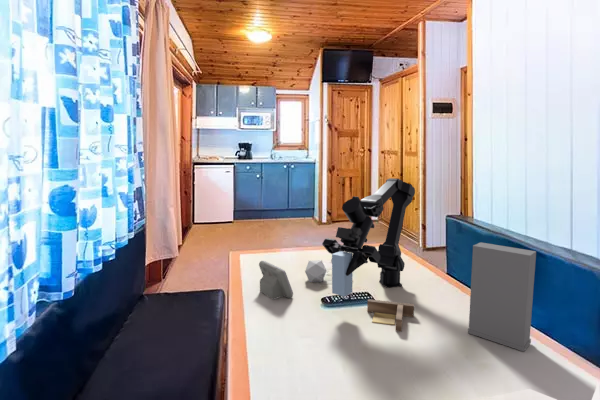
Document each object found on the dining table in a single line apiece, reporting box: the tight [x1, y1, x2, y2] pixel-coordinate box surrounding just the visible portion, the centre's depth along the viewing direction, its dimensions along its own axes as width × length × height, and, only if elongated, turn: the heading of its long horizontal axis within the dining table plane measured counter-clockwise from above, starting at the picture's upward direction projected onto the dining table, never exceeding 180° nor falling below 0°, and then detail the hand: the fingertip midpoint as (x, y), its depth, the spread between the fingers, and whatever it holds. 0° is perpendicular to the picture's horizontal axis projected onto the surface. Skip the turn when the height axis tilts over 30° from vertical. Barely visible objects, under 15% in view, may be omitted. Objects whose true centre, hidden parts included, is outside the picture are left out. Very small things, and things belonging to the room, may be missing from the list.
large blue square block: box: [331, 251, 353, 298], centre depth 116 cm, size 4×4×12 cm
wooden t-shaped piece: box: [366, 298, 415, 333], centre depth 112 cm, size 12×14×4 cm
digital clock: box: [258, 260, 294, 300], centre depth 134 cm, size 16×9×11 cm, turn 24°
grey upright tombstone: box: [467, 241, 537, 352], centre depth 99 cm, size 14×6×25 cm, turn 44°
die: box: [304, 260, 327, 283], centre depth 146 cm, size 8×9×10 cm
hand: (339, 273), depth 114 cm, fingers closed on large blue square block, 4 cm apart
